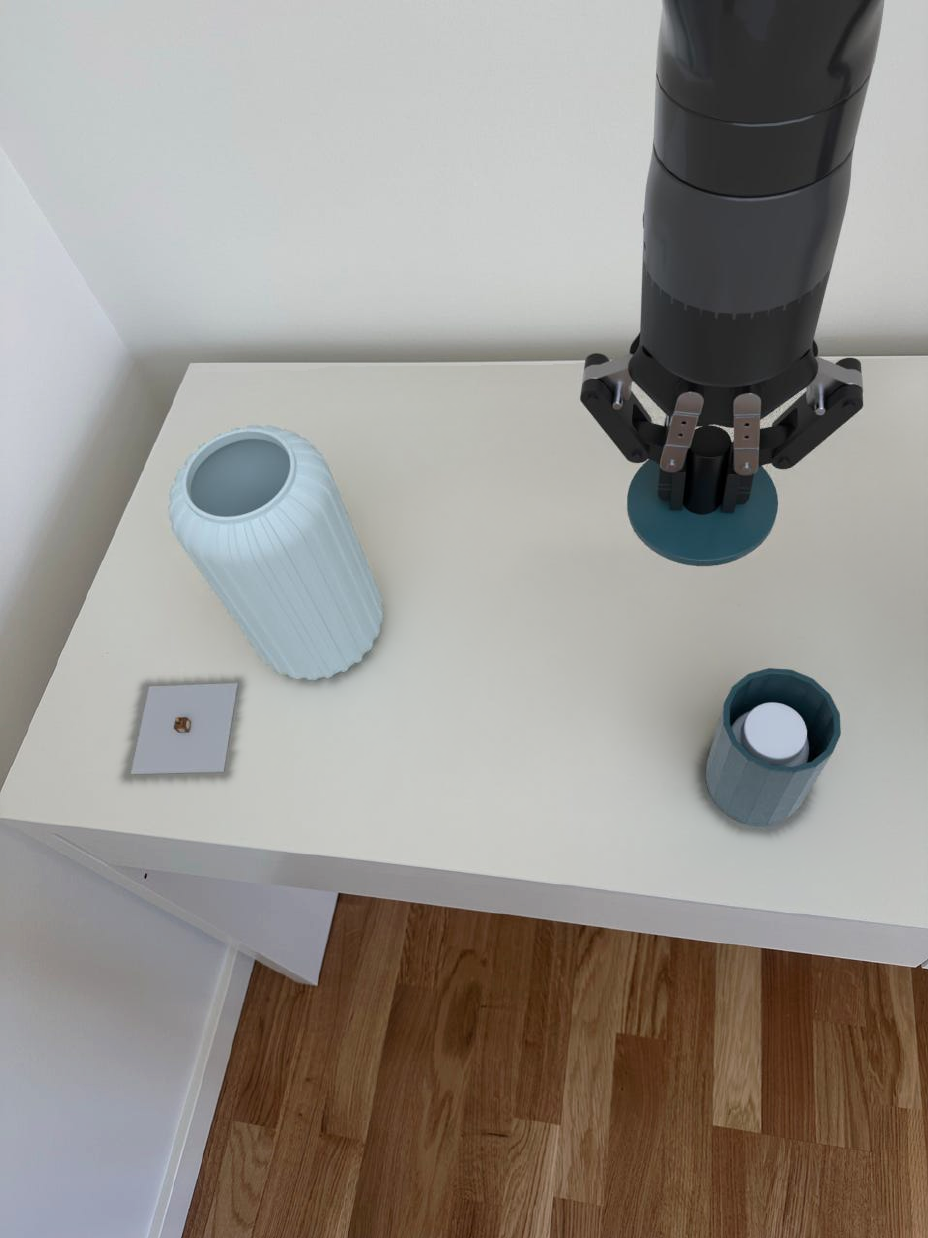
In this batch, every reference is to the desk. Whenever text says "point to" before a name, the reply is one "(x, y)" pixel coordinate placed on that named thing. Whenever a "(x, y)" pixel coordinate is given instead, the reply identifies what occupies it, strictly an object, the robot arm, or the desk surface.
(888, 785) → the desk surface
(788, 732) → the pill bottle
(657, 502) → the lid
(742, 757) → the pot
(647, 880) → the desk surface
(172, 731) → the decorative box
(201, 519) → the vase
